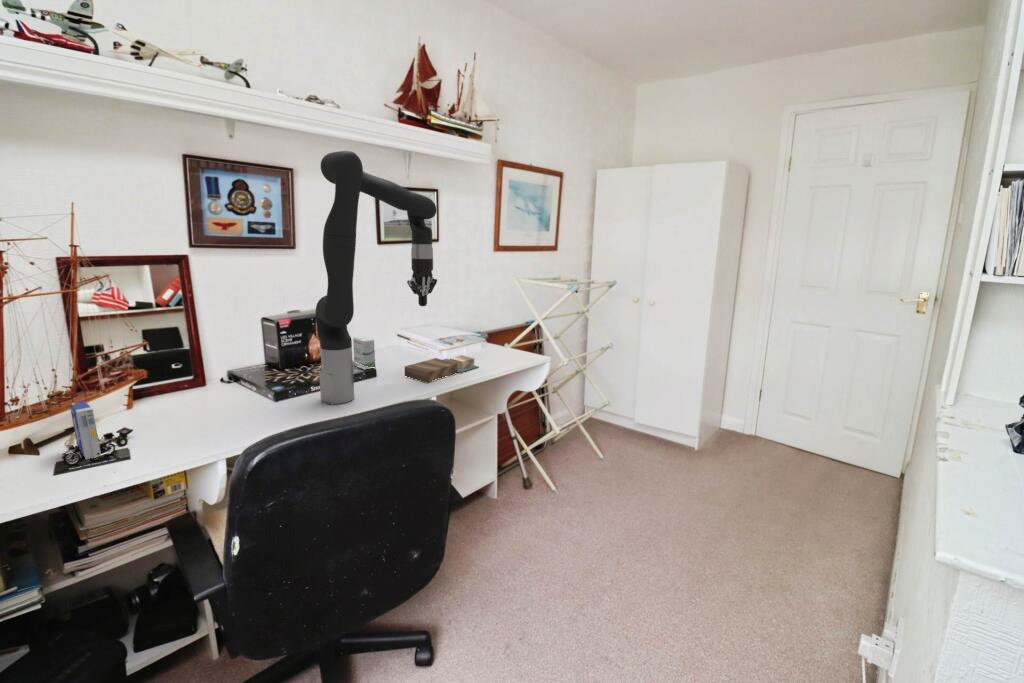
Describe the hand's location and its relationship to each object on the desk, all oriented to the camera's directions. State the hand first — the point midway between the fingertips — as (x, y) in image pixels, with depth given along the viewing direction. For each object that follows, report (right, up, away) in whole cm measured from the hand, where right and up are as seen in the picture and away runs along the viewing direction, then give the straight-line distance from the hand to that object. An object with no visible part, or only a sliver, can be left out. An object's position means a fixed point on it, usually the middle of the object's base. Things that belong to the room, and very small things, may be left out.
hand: (422, 305), depth 171 cm
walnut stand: (+2, -26, +9) cm, 27 cm away
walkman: (-68, -39, -59) cm, 98 cm away
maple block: (+12, -20, +20) cm, 31 cm away
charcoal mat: (+8, -23, +21) cm, 33 cm away
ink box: (-26, -23, +17) cm, 39 cm away
